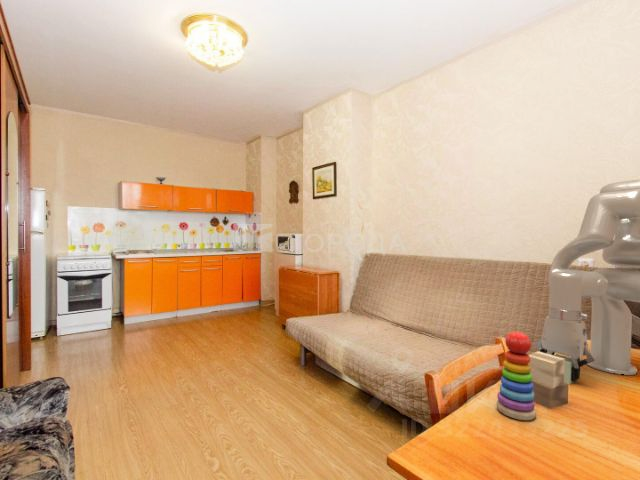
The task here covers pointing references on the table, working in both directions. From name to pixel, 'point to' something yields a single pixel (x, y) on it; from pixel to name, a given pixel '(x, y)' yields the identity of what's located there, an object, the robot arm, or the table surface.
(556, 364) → the maple block
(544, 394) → the walnut base
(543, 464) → the table surface
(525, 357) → the stacking toy
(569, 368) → the sage block
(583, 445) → the table surface
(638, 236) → the robot arm
